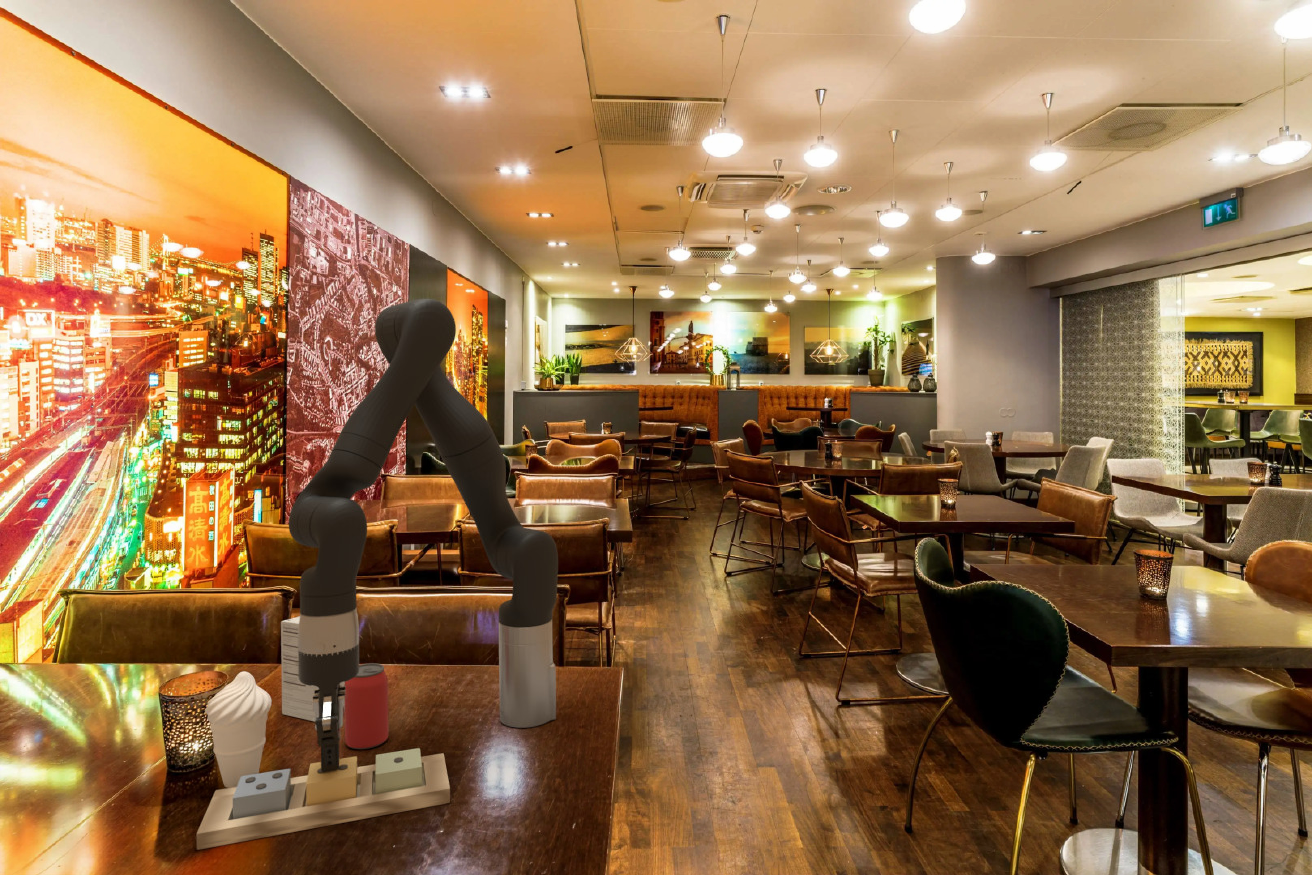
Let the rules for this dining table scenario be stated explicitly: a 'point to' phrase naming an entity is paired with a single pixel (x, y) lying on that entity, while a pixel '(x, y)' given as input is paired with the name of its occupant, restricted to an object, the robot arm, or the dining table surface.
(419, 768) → the tile one
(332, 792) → the tile two
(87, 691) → the dining table surface
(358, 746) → the beer can
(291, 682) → the supplement box
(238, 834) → the board
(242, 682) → the soft serve ice cream cone
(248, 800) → the tile three
